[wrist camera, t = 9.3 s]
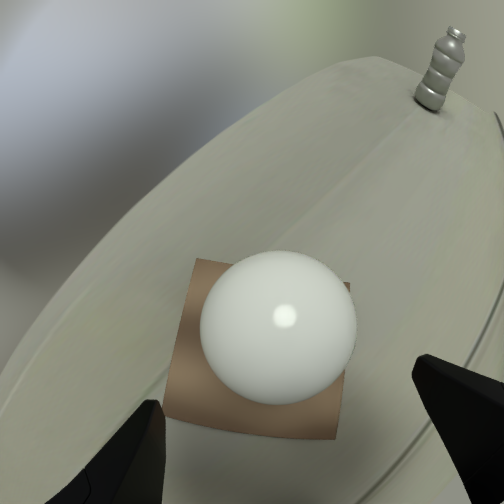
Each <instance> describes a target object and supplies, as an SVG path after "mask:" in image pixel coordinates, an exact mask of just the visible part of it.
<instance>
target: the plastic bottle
mask: <svg viewBox="0 0 504 504" xmlns="http://www.w3.org/2000/svg"><path fill="white" fill-rule="evenodd" d="M447 33H448V34H447V36H444V37H442V38H440V39H439V40H437V41H436V43H435V47H434V51H433V56H432V59H431V62H430V66H429V68H428V70H427V72H426V74H425V76H424V77H423V79H422V81H421V82H420V83H419V85H418V86H417V88H416V91H415V97H416V99H417V100H418V102H420V103H421V104H422V105H423V106H425V107H427V108H429V109H431V110H434V111H437V110H439V109H440V108H441V107H442V106H443V104H444V102H445V98H446V94H447V91H448V89H449V86H450V83H451V82H452V79H453V78H454V76H455V74H456V73H457V71H458V69H459V68H460V67H461V65H462V63H463V62H464V60H465V54H464V50H463V47H462V43H464V41H465V38H466V36H465V35H464V34H462V33H461V32H459V31H458V30H456V29H454V28H453V27H451V26H449V28H448V31H447Z"/></svg>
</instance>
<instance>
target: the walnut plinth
mask: <svg viewBox="0 0 504 504" xmlns="http://www.w3.org/2000/svg"><path fill="white" fill-rule="evenodd" d="M232 265H234V264H228V263H222V262H216V261H210V260H204V259H198V258H196V262H195V266H194V269H193V273H192V277H191V281H190V285H189V288H188V292H187V296H186V300H185V304H184V308H183V312H182V317H181V321H180V325H179V329H178V333H177V338H176V342H175V347H174V351H173V356H172V360H171V365H170V370H169V374H168V379H167V384H166V389H165V394H164V400H163V405H162V410H163V413H164V415H165V416H166V417H170V418H173V419H177V420H181V421H185V422H189V423H193V424H198V425H202V426H207V427H212V428H217V429H222V430H228V431H233V432H240V433H246V434H254V435H262V436H271V437H282V438H296V439H323V440H335V438H336V432H337V426H338V420H339V413H340V406H341V399H342V391H343V383H344V374H345V369H344V371H343V372H342V373H341V375H340V376H339V377H338V378H337V379H336V380H335V381H334V382H333V383H332V384H331V385H330V386H329V387H328V388H327V389H325V390H324V391H322V392H321V393H319V394H317V395H316V396H314V397H312V398H310V399H307V400H305V401H302V402H298V403H294V404H289V405H266V404H261V403H257V402H253V401H250V400H248V399H245V398H243V397H241V396H239V395H238V394H236V393H234V392H233V391H232V390H230V389H229V388H228V387H226V386H225V385H224V384H223V383H222V382H221V381H220V380H219V379H218V378H217V376H216V375H215V374H214V372H213V371H212V369H211V368H210V366H209V364H208V362H207V360H206V358H205V355H204V352H203V349H202V345H201V340H200V317H201V312H202V308H203V305H204V302H205V299H206V297H207V295H208V293H209V291H210V289H211V288H212V286H213V285H214V283H215V282H216V281H217V280H218V278H219V277H220V276H221V275H222V274H223V273H224V272H225V271H226V270H227V269H228V268H230V267H231V266H232ZM343 283H344V284H345V286H346V287H347V289H348V291H349V293H350V283H348V282H343Z"/></svg>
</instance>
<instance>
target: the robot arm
mask: <svg viewBox="0 0 504 504" xmlns="http://www.w3.org/2000/svg"><path fill="white" fill-rule="evenodd" d="M412 379H413V382H414V384H415V386H416V388H417V391H418V393H419V395H420V398H421V400H422V402H423V405H424V407H425V409H426V411H427V413H428V415H429V417H430V418H431V420H432V422H433V424H434V426H435V428H436V429H437V431H438V433H439V435H440V437H441V439H442V441H443V443H444V445H445V447H446V449H447V451H448V453H449V455H450V457H451V459H452V461H453V463H454V465H455V467H456V469H457V471H458V474H459V476H460V478H461V480H462V482H463V483H464V484H463V485H464V487H465V489H466V491H467V494H468V496H469V499H470V501H471V503H472V504H500V503H502V502H503V501H504V383H502V382H499V381H497V380H494V379H491V378H489V377H486V376H483V375H481V374H478V373H475V372H473V371H470V370H468V369H465V368H462V367H460V366H457V365H455V364H452V363H449V362H447V361H444V360H442V359H439V358H437V357H434V356H432V355H429V354H424V355H421V356H419V357H418V358H417V359H416V362H415V365H414V368H413V371H412ZM165 463H166V420H165V415H164V413H163V410H162V408H161V406H160V403H159V401H158V400H150V399H147V400H145V401H143V403H142V404H141V405H140V406H139V407H138V408H137V409H136V410H135V412H134V413H133V414H132V415H131V416H130V417H129V418H128V420H127V421H126V422H125V423H124V424H123V425H122V426H121V427H120V428H119V430H118V431H117V432H116V433H115V434H114V435H113V436H112V437H111V439H110V440H109V441H108V442H107V443H106V444H105V445H104V446H103V447H102V449H101V450H100V451H99V452H98V453H97V454H96V455H95V456H94V457H93V458H92V460H91V461H90V462H89V463H88V464H87V465H86V466H85V469H82V470H81V471H80V472H79V474H78V475H77V476H76V477H75V478H74V479H73V480H72V481H71V482H70V483H69V484H68V485H67V486H65V487H64V488H63V489H62V490H61V491H60V492H59V493H57V494H56V495H55V496H54V497H52V498H51V499H50V500H49V501H47V502H46V503H45V504H162V493H163V483H164V473H165Z"/></svg>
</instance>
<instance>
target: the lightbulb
mask: <svg viewBox="0 0 504 504" xmlns="http://www.w3.org/2000/svg"><path fill="white" fill-rule="evenodd" d="M356 339H357V315H356V309H355V306H354V302H353V300H352V297H351V295H350V293H349V291H348V289H347V287H346V286H345V284H344V283H343V281H342V280H341V279H340V278H339V276H338V275H337V274H336V273H335V272H334V271H333V270H332V269H330V268H329V267H328V266H327V265H325V264H324V263H322V262H321V261H319V260H317V259H315V258H313V257H311V256H309V255H306V254H303V253H299V252H295V251H288V250H272V251H265V252H260V253H257V254H253V255H251V256H248V257H246V258H244V259H242V260H240V261H238V262H237V263H235V264H234V265H232V266H231V267H230V268H228V269H227V270H226V271H225V272H224V273H223V274H222V275H221V276H220V277H219V278H218V280H217V281H216V282H215V283H214V285H213V286H212V288H211V289H210V291H209V293H208V295H207V297H206V299H205V302H204V305H203V308H202V312H201V317H200V340H201V345H202V349H203V352H204V355H205V358H206V360H207V362H208V364H209V366H210V368H211V369H212V371H213V372H214V374H215V375H216V376H217V378H218V379H219V380H220V381H221V382H222V383H223V384H224V385H225V386H226V387H228V388H229V389H230V390H232V391H233V392H234V393H236V394H238V395H239V396H241V397H243V398H245V399H248V400H250V401H253V402H257V403H261V404H266V405H289V404H294V403H298V402H302V401H305V400H307V399H310V398H312V397H314V396H316V395H317V394H319V393H321V392H322V391H324V390H325V389H327V388H328V387H329V386H330V385H331V384H332V383H333V382H334V381H335V380H336V379H337V378H338V377H339V376H340V375H341V373H342V372H343V371H344V369H345V368H346V366H347V364H348V362H349V360H350V358H351V356H352V354H353V351H354V348H355V344H356Z"/></svg>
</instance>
